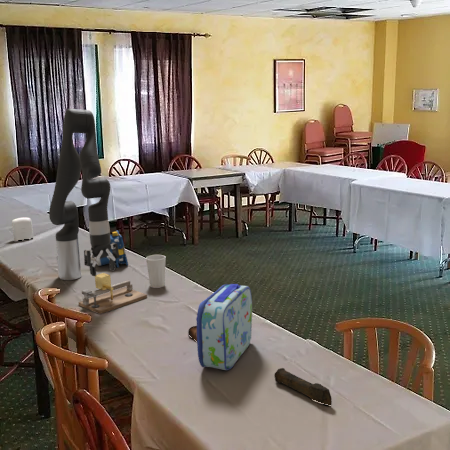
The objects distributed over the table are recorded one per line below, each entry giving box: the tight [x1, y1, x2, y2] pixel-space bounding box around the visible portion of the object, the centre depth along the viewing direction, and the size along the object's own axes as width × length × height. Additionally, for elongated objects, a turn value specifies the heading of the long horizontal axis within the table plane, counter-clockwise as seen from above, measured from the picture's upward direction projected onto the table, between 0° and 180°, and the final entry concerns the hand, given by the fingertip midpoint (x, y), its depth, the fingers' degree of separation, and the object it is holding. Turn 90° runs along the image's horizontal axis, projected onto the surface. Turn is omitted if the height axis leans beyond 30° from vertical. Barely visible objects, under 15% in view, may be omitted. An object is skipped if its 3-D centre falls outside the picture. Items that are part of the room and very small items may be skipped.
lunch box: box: [195, 283, 253, 371], centre depth 178 cm, size 26×11×21 cm, turn 160°
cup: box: [145, 254, 167, 289], centre depth 244 cm, size 8×8×12 cm
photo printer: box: [11, 216, 34, 242], centre depth 323 cm, size 10×4×12 cm, turn 117°
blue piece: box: [95, 230, 129, 268], centre depth 275 cm, size 13×15×15 cm
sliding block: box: [94, 272, 114, 300], centre depth 227 cm, size 8×4×9 cm, turn 47°
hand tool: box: [273, 367, 332, 406], centre depth 157 cm, size 19×4×5 cm, turn 37°
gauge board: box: [78, 279, 148, 315], centre depth 228 cm, size 14×22×6 cm, turn 137°
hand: (103, 272), depth 226 cm, fingers open, 8 cm apart
